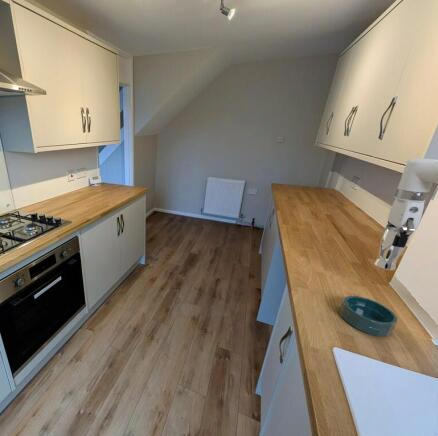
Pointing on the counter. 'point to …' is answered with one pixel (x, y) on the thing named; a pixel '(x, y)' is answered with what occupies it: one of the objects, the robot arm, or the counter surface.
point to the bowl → (368, 315)
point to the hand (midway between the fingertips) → (393, 242)
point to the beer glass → (388, 249)
